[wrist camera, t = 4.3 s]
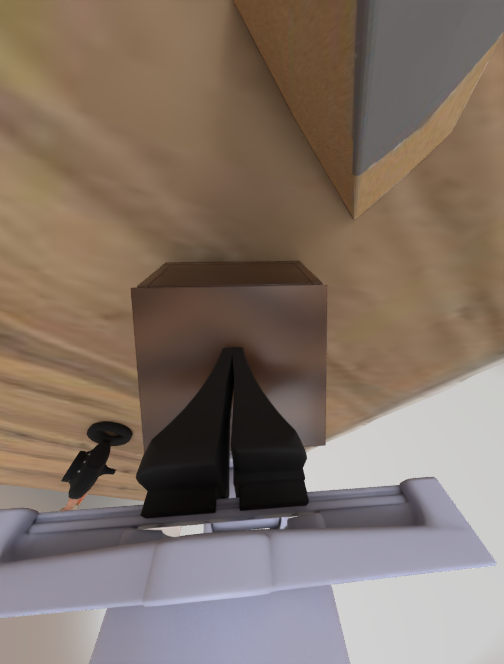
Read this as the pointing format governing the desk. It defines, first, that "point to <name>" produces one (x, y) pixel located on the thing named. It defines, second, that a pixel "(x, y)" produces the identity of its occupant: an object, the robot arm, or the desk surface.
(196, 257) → the desk surface
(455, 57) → the sandwich container
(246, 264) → the walnut box
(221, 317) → the lid
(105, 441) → the webcam
